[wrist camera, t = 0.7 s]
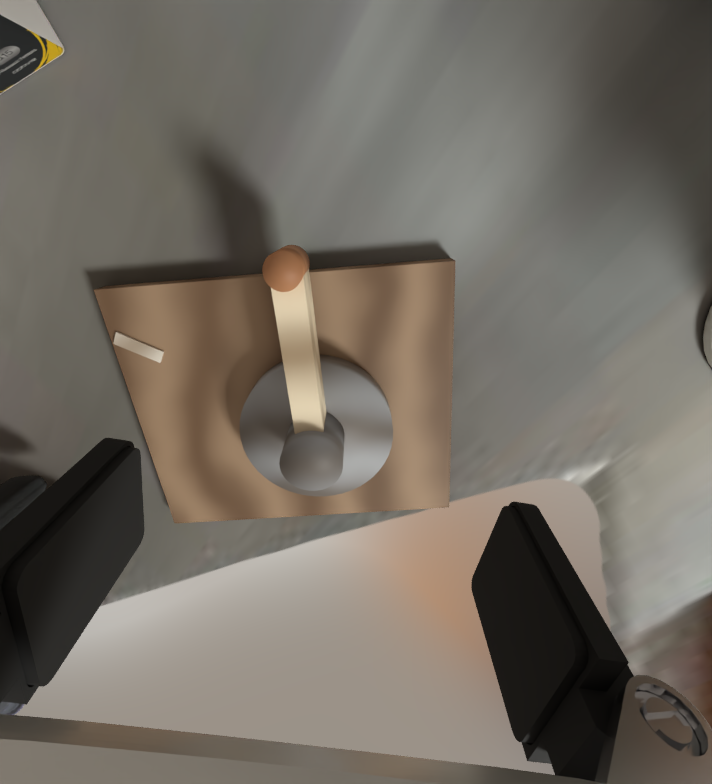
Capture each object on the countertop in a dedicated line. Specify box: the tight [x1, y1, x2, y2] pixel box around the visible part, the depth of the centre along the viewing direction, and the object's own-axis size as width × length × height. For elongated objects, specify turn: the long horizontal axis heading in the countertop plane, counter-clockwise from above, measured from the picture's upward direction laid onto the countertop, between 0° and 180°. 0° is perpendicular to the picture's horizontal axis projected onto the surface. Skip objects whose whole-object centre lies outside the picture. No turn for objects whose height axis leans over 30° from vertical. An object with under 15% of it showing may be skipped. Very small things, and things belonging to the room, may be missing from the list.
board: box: [94, 258, 455, 523], centre depth 34 cm, size 26×22×2 cm
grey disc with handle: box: [240, 245, 393, 496], centre depth 29 cm, size 20×12×6 cm, turn 4°
